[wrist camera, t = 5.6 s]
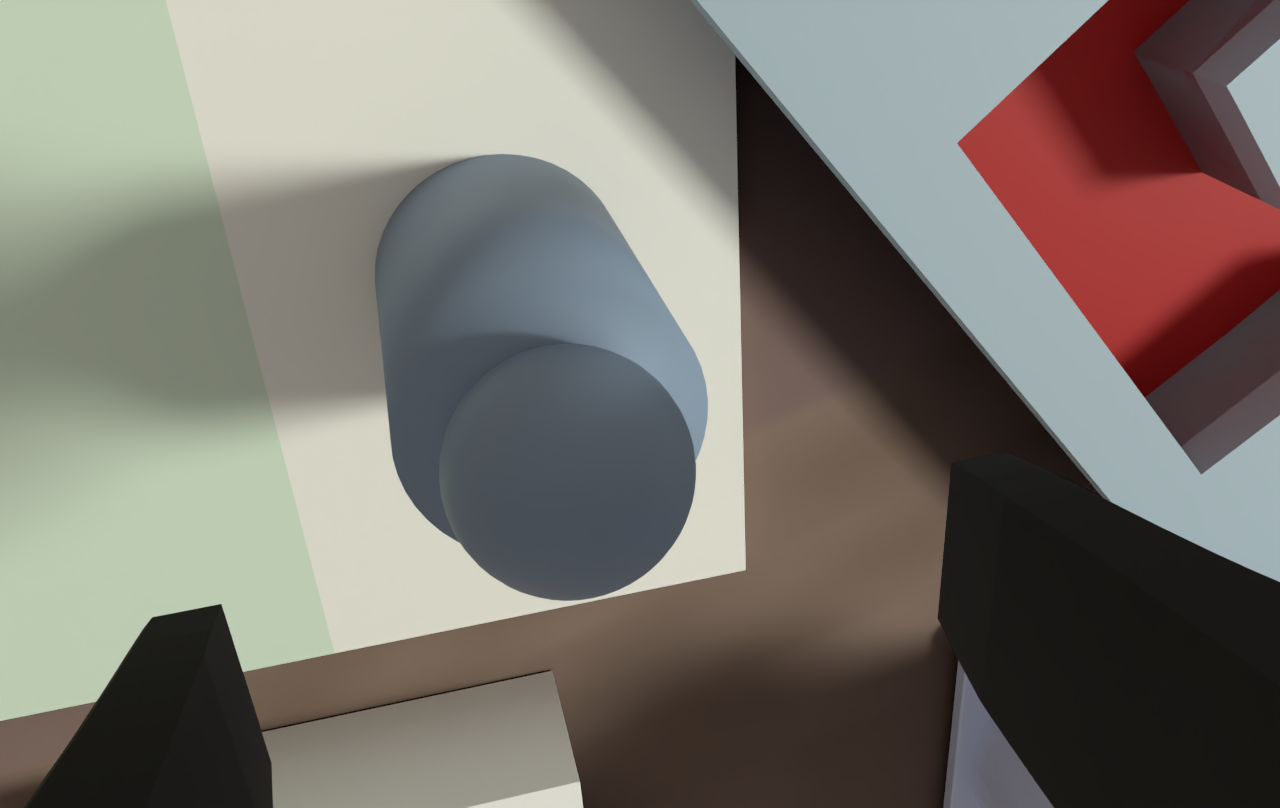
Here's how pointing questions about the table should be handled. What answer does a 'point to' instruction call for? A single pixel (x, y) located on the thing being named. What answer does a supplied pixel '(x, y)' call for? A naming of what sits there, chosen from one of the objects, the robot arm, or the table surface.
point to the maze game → (1075, 216)
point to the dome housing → (434, 753)
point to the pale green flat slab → (301, 301)
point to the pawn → (535, 379)
